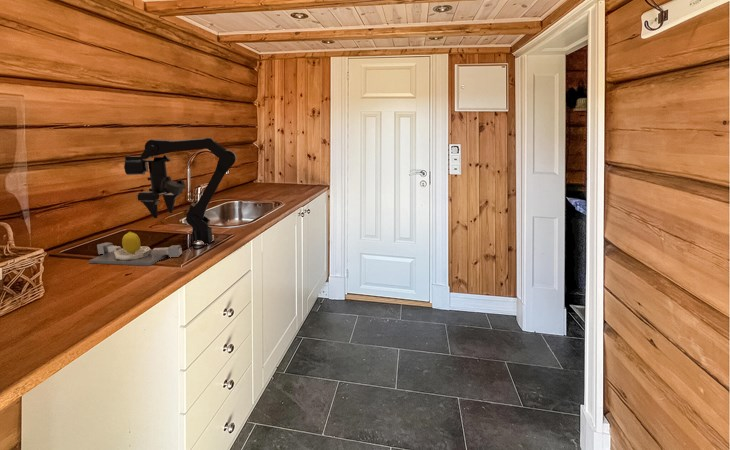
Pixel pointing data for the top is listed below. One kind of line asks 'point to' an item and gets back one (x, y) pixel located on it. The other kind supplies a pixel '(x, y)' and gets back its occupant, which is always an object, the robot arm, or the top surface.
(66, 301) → the top surface
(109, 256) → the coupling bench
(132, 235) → the lemon
